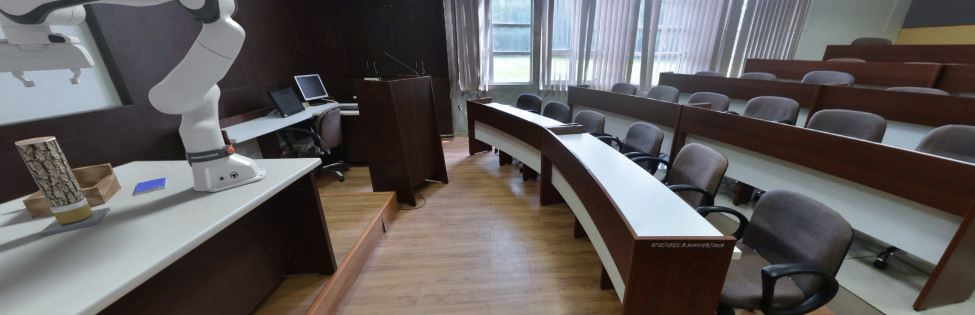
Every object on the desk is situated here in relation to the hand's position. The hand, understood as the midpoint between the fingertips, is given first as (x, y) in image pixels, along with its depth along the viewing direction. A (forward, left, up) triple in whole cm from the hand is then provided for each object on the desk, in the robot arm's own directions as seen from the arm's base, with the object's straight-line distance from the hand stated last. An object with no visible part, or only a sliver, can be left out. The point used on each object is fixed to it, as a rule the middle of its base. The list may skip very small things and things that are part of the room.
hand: (54, 85), depth 101 cm
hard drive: (-11, -4, -40) cm, 41 cm away
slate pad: (+1, +20, -39) cm, 44 cm away
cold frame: (+7, -2, -39) cm, 40 cm away
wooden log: (+1, +20, -38) cm, 43 cm away
